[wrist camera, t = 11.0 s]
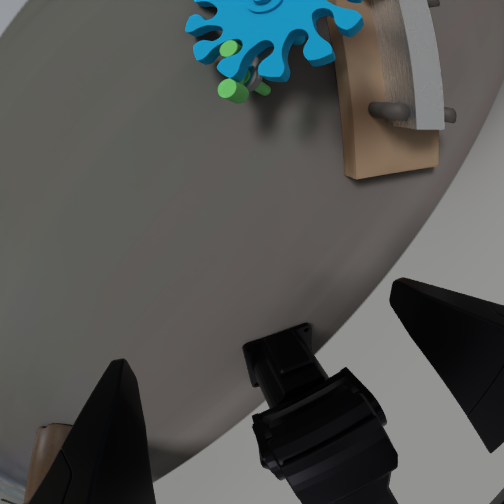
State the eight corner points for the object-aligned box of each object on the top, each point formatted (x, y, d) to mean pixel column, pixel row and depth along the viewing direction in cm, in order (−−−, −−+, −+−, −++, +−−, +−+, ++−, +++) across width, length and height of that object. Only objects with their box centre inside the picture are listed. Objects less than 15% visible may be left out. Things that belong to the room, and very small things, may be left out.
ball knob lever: (419, 124, 19) (447, 129, 16) (383, 125, 18) (412, 129, 15) (390, -38, 11) (414, -47, 8) (349, -53, 10) (372, -66, 8)
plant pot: (4, 400, 19) (-11, 519, 5) (130, 420, 25) (150, 554, 11) (44, 458, 25) (46, 544, 11) (140, 469, 31) (158, 559, 17)
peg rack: (426, 162, 22) (463, 174, 18) (344, 174, 20) (384, 190, 16) (400, -29, 13) (434, -39, 9) (307, -57, 11) (338, -81, 7)
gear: (226, -62, 9) (389, -45, 6) (266, -21, 14) (395, 11, 11) (146, 73, 13) (298, 129, 11) (204, 92, 18) (328, 146, 16)
